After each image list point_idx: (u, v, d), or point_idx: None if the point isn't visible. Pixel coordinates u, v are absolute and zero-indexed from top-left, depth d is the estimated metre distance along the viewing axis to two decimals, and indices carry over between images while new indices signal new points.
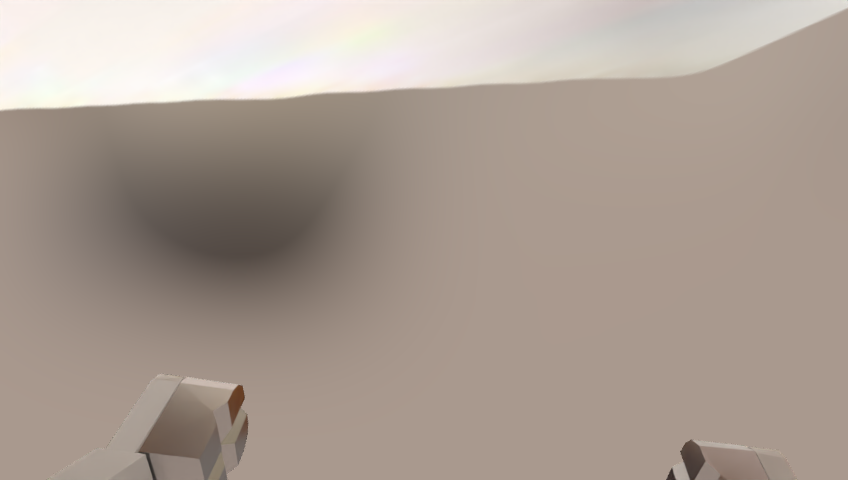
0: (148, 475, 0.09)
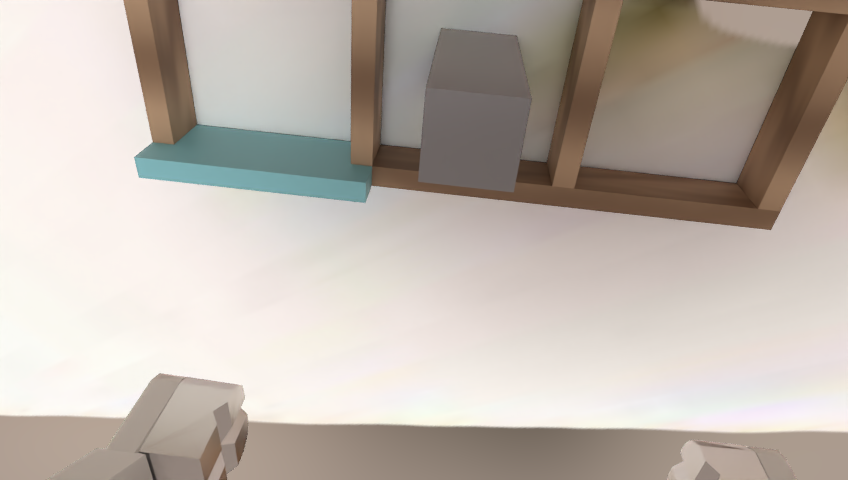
0: (148, 475, 0.09)
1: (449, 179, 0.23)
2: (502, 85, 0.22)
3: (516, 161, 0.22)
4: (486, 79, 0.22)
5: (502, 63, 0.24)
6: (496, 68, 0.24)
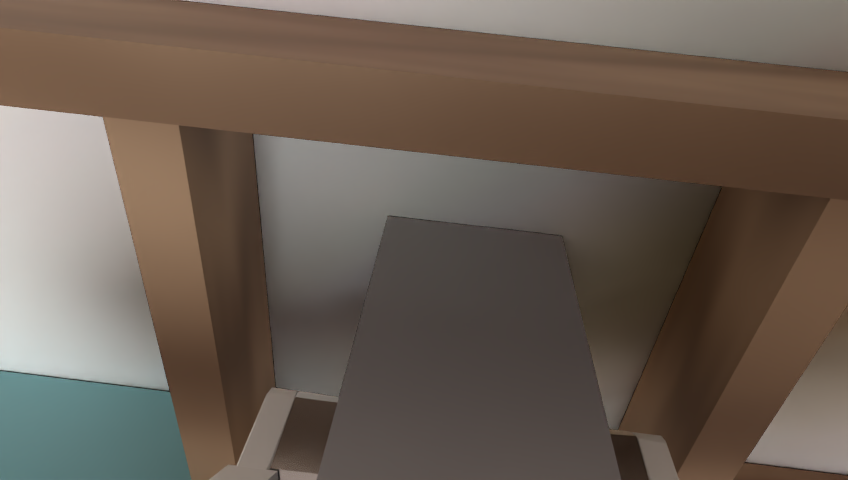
0: None
1: None
2: None
3: None
4: None
5: (546, 438, 0.08)
6: None
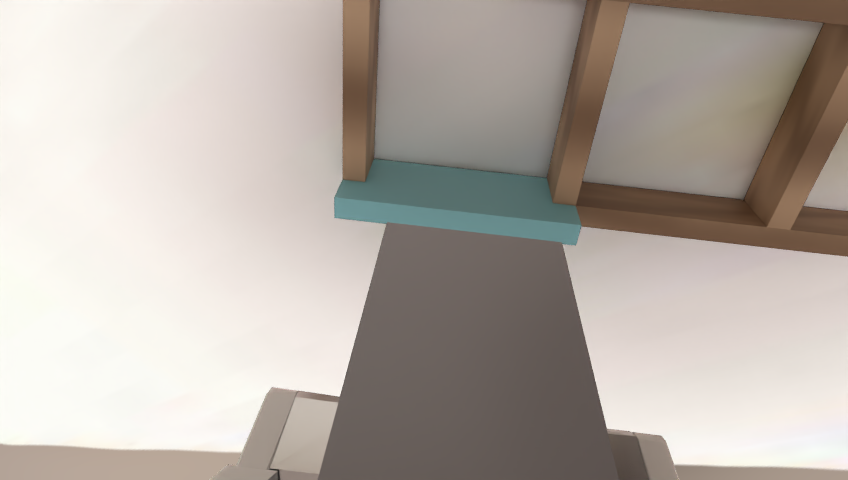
0: None
1: None
2: None
3: None
4: None
5: (545, 449, 0.08)
6: None
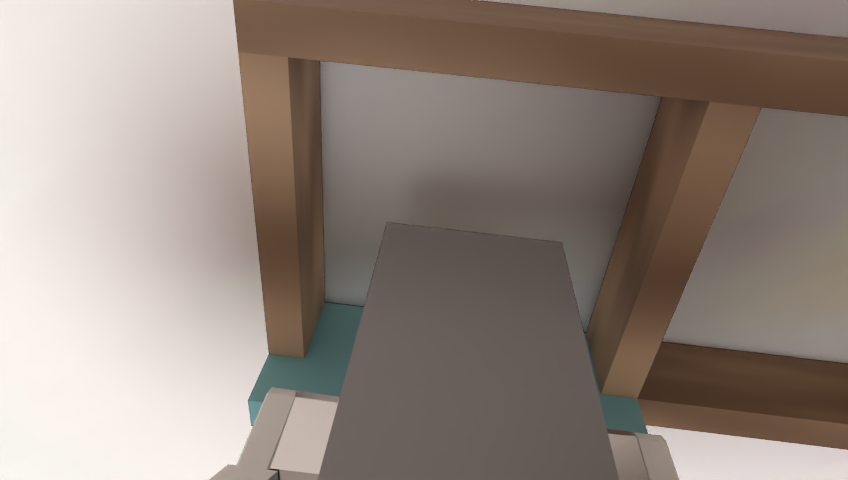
0: None
1: None
2: None
3: None
4: None
5: (546, 450, 0.08)
6: None
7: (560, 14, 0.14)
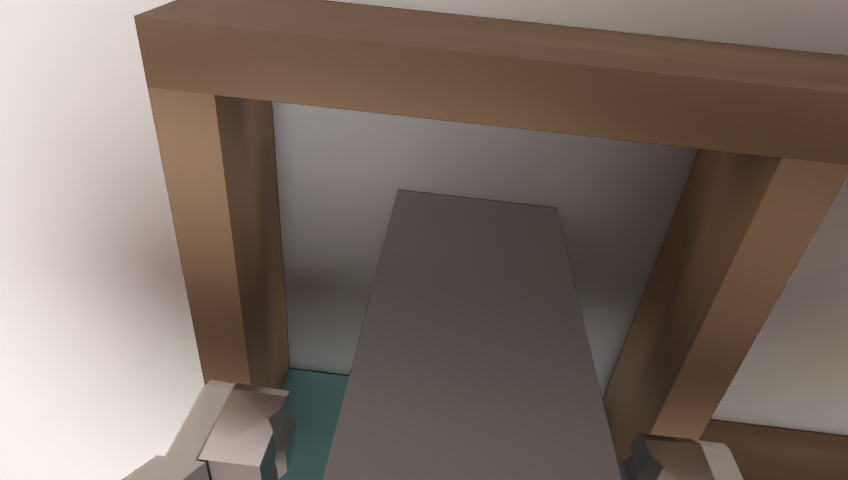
0: None
1: None
2: None
3: None
4: None
5: (538, 369, 0.09)
6: (525, 402, 0.08)
7: (578, 36, 0.11)
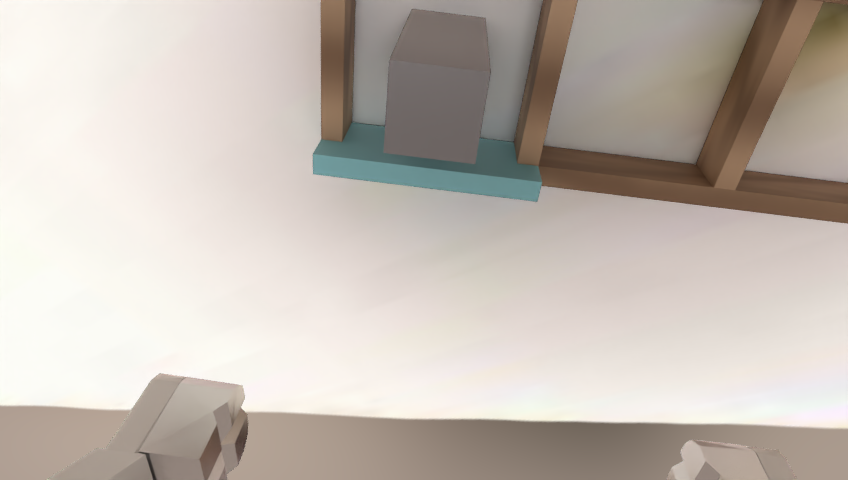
0: (148, 475, 0.09)
1: (413, 150, 0.24)
2: (464, 59, 0.23)
3: (477, 133, 0.23)
4: (449, 54, 0.23)
5: (467, 41, 0.25)
6: (460, 44, 0.25)
7: None
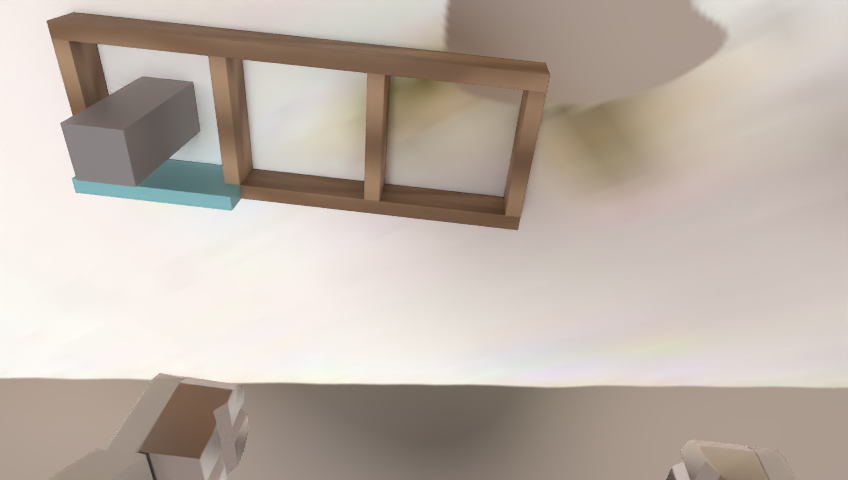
0: (148, 475, 0.09)
1: (94, 178, 0.36)
2: (117, 121, 0.35)
3: (130, 167, 0.36)
4: (113, 117, 0.36)
5: (143, 105, 0.38)
6: (134, 108, 0.37)
7: (170, 25, 0.40)
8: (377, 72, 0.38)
